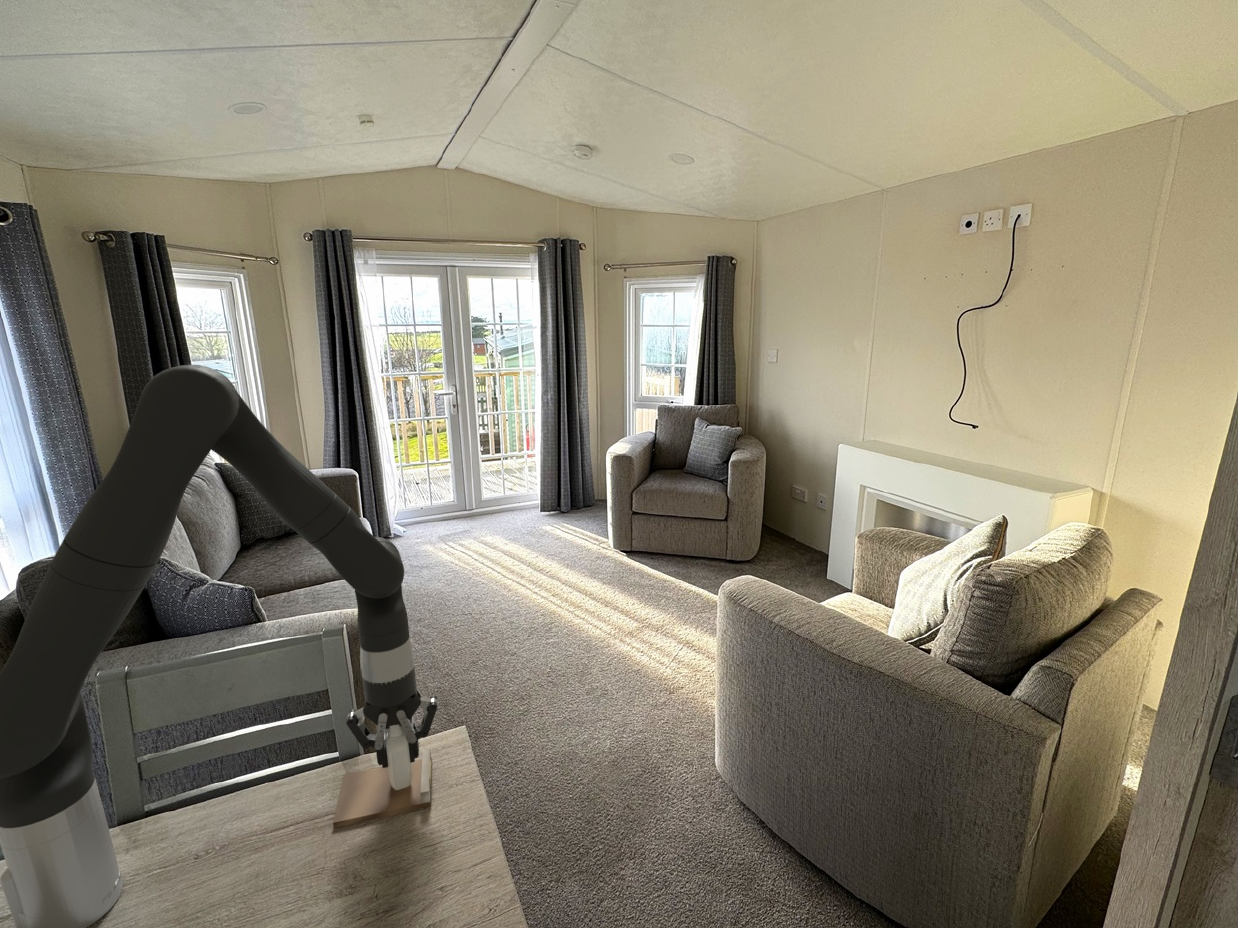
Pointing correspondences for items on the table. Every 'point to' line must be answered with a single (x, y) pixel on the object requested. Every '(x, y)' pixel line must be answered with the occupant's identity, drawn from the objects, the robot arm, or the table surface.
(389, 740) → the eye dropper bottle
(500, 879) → the table surface
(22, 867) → the robot arm
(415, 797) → the walnut shelf board
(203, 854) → the table surface
